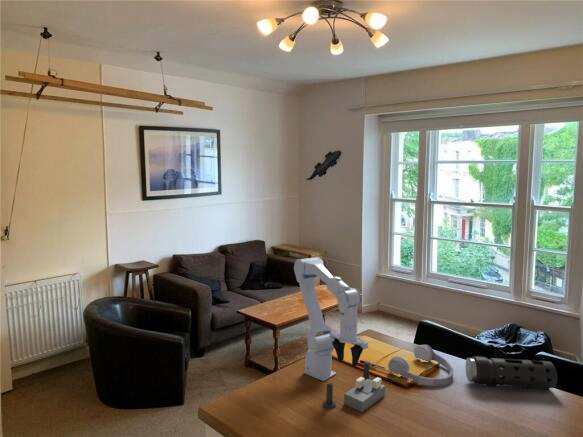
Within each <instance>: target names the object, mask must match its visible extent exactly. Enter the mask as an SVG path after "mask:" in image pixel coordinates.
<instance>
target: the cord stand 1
mask: <svg viewBox="0 0 583 437" xmlns="http://www.w3.org/2000/svg"><path fill="white" fill-rule="evenodd" d="M333 391H334V385H333V383H327V384H326V395H325V396H326V399H325V400H324V401H322V406H323V408H325V409H326V410H327V409H328V410H329V409H330V410H331V409H334V408H336V402H335V401H334V400H333V396H334V394H333V393H334V392H333Z"/></svg>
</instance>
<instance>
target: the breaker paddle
mask: <svg viewBox="0 0 583 437" xmlns="http://www.w3.org/2000/svg"><path fill="white" fill-rule="evenodd" d="M364 385H365V378H363V376H360V377H358V378H356V379H355V387H357V388H359V389H360V388H361V387H363V386H364Z"/></svg>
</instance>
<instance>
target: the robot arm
mask: <svg viewBox="0 0 583 437" xmlns="http://www.w3.org/2000/svg"><path fill="white" fill-rule="evenodd" d="M293 265H294V266H293V270H294V275H295V278H296V281H297V283H299V288H300V290H301V291H300V292H301V294H302V298H303V302H304V303H303V304H304V306H305V310H306V313H307V317H308V320H309V323H310V329H309V330H308V332H307V333H306V338H307V347H308V350H307V351H306V353H305V359H304V360H305V362H304V363H305V365H304V366H305V370H304V371H303V374H306V375H308V376H310V377H312V378H315V379H317V380H320V381H322V382H324V381H327V380H328V379H330V378H331V377H333V376H335V375H336V374H337V373H336V371H333V370H332V356H333V355H332V354H333V352H334V351H335V353H336V357H337V361H338V362H339V363H341V362H342V361H344V359H345V358H344V357H345V348H346V343H347V344H350V345H353V346H351V347H350V348H349V349H350V352H351V359H352V360H351V365H352V367H353V368H355V367H358V365H359V364H358V363H359V360H360V359H361V354H362V353H363V351H364V350H366V349H368V348H369V342H368V341H367V340H364V339H362V338H360V337H358V307H359V305H360V304H361V303H362V295H361V292H360V291H359V289H358V288H353V287H350V286H349V285H348V284H347V283H346V282H345V281H343V280H342V278H341V277H340V276H333V274H331V273H330V271H329V270H328V269H327V268H326V267H325V265H324V261H323V260H322V259H321V258H320V257H319V256H315V257H307V258H297V259H296V260H295V261H294V264H293ZM318 278H319V279H320V280H321V281H323V282H324V283H325V284H326V289H327V291H329V292H330V293H331V294H332V296H334V297H335V298H336V302H337V306H338V310H339V313H340V314H339V315H340V316H339V318H340V319H339V321H340V322H339V332H337V331H334V330H333V328H332V326H330V325H328V324H326V323H325V319H324V315H323V312H322V309H321V305H320V302H319V299H318V296H317V292H316V288H315V285H314V283H315V281H316V280H317V279H318Z"/></svg>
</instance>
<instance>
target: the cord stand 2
mask: <svg viewBox="0 0 583 437" xmlns="http://www.w3.org/2000/svg"><path fill="white" fill-rule="evenodd" d="M362 377H363V378H365V380H366V379H369V380H372V381H373V379H372V378H371V377H370V362H369V361H364V362H363V376H362Z"/></svg>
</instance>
